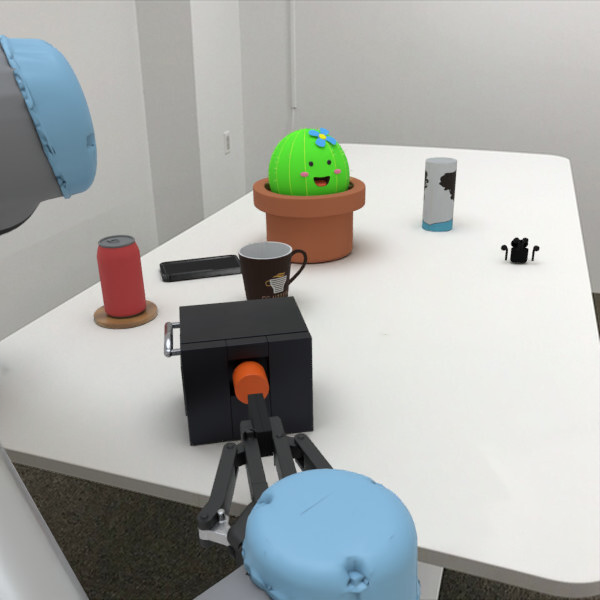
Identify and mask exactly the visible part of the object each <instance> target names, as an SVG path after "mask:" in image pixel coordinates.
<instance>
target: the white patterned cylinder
mask: <svg viewBox="0 0 600 600" xmlns="http://www.w3.org/2000/svg"><path fill="white" fill-rule="evenodd" d="M424 166H425V167H424V183H423V199H422V201H423V203H422V220H421V228H422V229H423V230H426V231H428V232H435V233H436V232H437V233H439V232H441V233H442V232H448V231H451V230H452V229H453V226H454V225H453V224H454V223H453V222H454V212H455V198H456V197H455V196H456V184H457V172H458V171H457V170H458V169H457V168H458V159H456V158H452V157H446V156H445V157H444V156H438V157H437V156H436V157H428V158H426V159H425V165H424Z"/></svg>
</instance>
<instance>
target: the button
mask: <svg viewBox="0 0 600 600" xmlns="http://www.w3.org/2000/svg"><path fill="white" fill-rule="evenodd" d="M233 384H234V390H235V394H236V397H237V398H238V399H239V400H240V401H241V402H243V403H245V404H248V396H247V395H249V394H257V393H263V397H264V399H265V398H266V396H267V394H268V392H269V384H268V380H267V377H266V373H265V370H264V368H263V367H262V365H260V364H259V363H257V362H253V361H247V362H243V363H241V364H239V365H238V366H237V367H236V368H235V370H234V372H233Z"/></svg>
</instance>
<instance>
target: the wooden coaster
mask: <svg viewBox="0 0 600 600" xmlns="http://www.w3.org/2000/svg"><path fill="white" fill-rule="evenodd" d="M158 313H159V311H158V306H157V304H156V303H154V302H153V301H151V300H147V299H146V308H145V310H144V311H143V312H141V313H140V314H138V315H136V316H132V317H126V318H116V317H112V316H110V315H108V314H107V313H106V312H105V309H104V304H103V305H102V306H100V307H98V308H97V309H96V310H95V311H94V313H93V320H94V321H93V322H95V324H96V325H97V326H99V327H102V328H105V329H111V330H112V329H113V330H121V329H122V330H123V329H130V328H135V327H139V326H142V325H145V324H147V323H149V322H151V321H153V320H154V319H155V318H157V316H158Z"/></svg>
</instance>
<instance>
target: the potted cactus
mask: <svg viewBox="0 0 600 600" xmlns="http://www.w3.org/2000/svg"><path fill="white" fill-rule="evenodd" d="M315 127H316V126H314V127H313V128H310V127H308V128H307V127H306V125H303V128H302V127H300V128H299V129H297V130H296V129H295V128H294V130H293V131H291V130H289V131H288V133H287V135H286V136H284V137H283V138H282V137H280V139H278V141H279V142H278V143H277V145H276V146H275V145H274V144H273V146H272V147H273V152H272V153H271V156H270V160H268V162H269V163H268V169H267V172H265V177H263V178H262V179H259V180H257V181H255V182H254V183H253V185H252V198H253V199H252V200H253V206H254V207H255V208H256V209H257V210H258V211H260V212H262V213H264V214H265V228H266V229H265V230H266V242H280V243H285V244H287V245H289V246H291V247H292V251H293V250H296V249H300V250H303V251H305V252H306V254H307V264H314V263H324V262H331V261H336V260H339V259H342V258H345V257H346V256H348V255H349V254H351V253H352V251H353V248H354V212H356V211H358V210H360V209H362V208H364V206H365V205H366V183H365V182H364V181H362V180H361V179H360V178H357V177H354V176H350V175H351V172H353V170H351V169H350V164H349V161H348V158H347V156H346V153H345V152H347V149H346V150H344V149H343V148H342V146H341V145H342V144H339V142H338V141H337V139H336V138H335V137H333V136H331V135H330V134H329V133H330V130H328V129H327V128H324V127H320V126H317V127H316V128H315ZM303 262H304V256H303V254H302V253H296V254H294V255H293V256H292V259H291V263H294V264H295V263H296V264H303Z"/></svg>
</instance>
